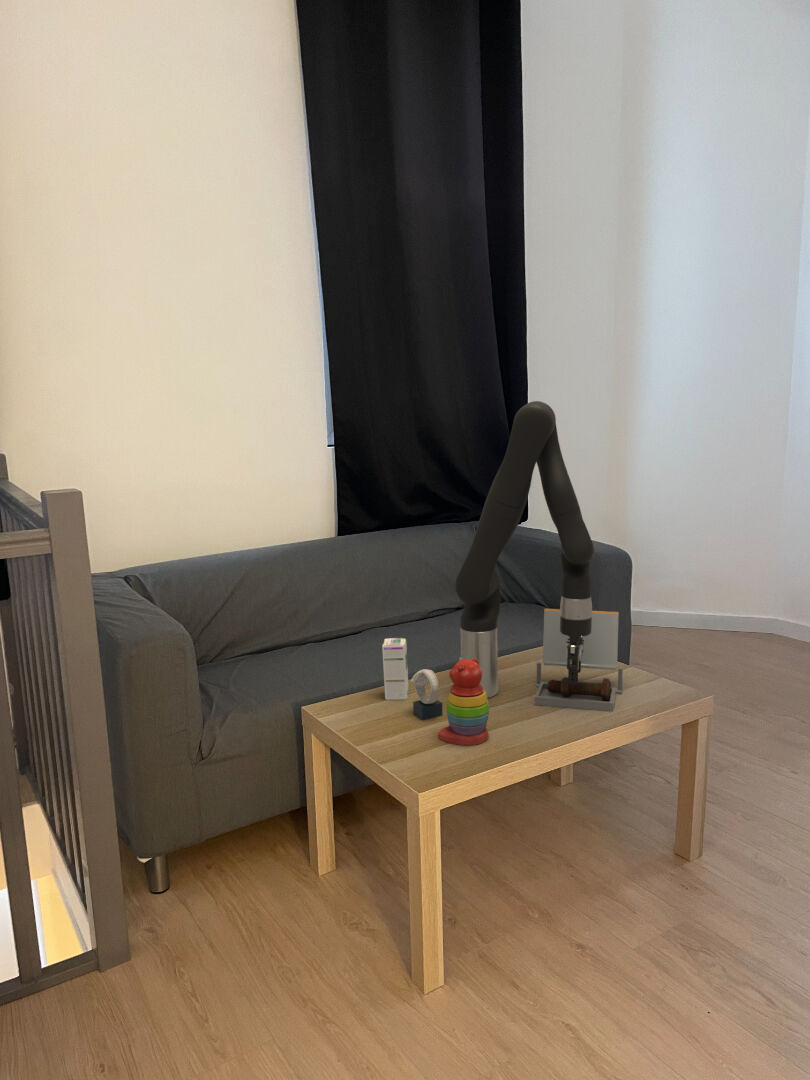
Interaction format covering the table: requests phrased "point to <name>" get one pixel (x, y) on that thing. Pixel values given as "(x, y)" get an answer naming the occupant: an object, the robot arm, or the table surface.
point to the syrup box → (395, 669)
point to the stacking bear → (466, 706)
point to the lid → (596, 645)
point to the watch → (426, 705)
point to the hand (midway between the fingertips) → (574, 677)
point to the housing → (574, 696)
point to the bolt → (581, 688)
